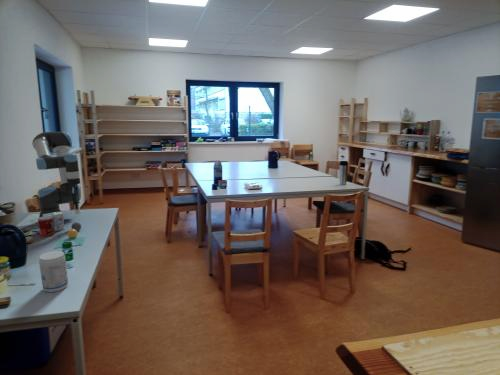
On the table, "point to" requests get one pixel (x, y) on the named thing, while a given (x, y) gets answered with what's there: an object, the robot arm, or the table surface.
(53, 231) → the canned food
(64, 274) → the supplement tub
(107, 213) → the table surface
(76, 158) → the robot arm
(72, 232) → the orange ball
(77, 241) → the teal mark
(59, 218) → the light bulb box
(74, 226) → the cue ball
